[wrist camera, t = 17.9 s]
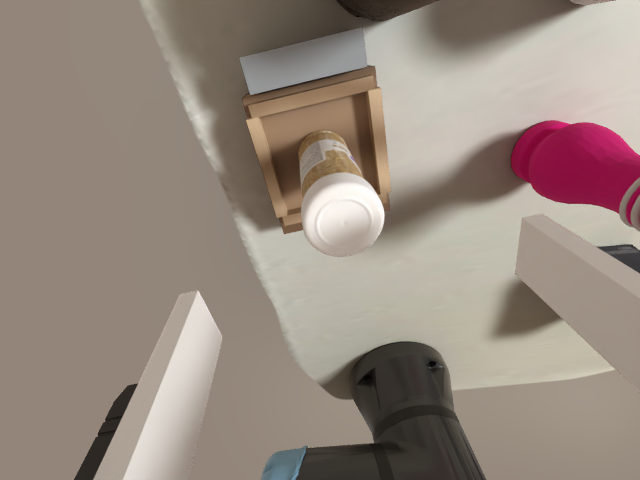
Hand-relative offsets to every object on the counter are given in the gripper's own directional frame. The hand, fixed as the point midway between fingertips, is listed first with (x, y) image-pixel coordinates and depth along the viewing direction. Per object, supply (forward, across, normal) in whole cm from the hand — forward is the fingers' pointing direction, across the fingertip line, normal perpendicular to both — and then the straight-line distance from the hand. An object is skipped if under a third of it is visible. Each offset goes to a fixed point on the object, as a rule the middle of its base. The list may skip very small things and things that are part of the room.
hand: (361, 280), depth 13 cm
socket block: (+21, 0, 0) cm, 21 cm away
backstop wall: (+21, 0, -8) cm, 23 cm away
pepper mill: (+22, -23, +5) cm, 32 cm away
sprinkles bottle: (+18, 0, 0) cm, 18 cm away
